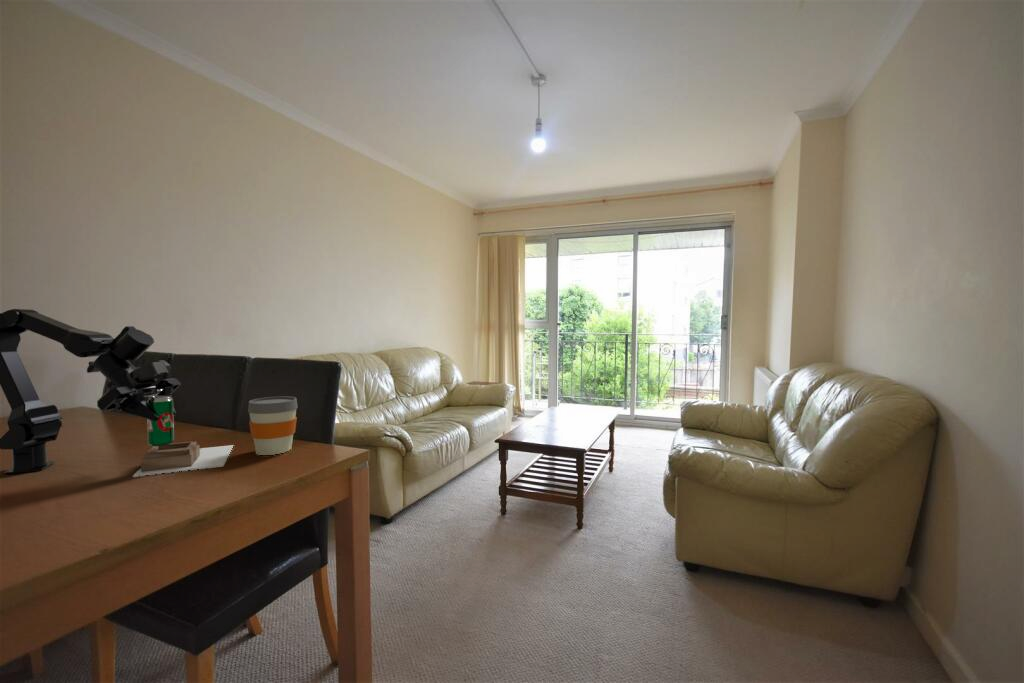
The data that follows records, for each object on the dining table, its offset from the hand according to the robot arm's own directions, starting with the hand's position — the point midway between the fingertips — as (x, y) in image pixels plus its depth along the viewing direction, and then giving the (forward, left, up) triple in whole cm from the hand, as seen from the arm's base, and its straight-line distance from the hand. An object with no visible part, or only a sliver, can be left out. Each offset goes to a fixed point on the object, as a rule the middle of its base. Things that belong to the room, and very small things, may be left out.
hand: (166, 417), depth 106 cm
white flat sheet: (-7, +3, -13) cm, 15 cm away
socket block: (-4, 0, -13) cm, 14 cm away
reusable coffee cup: (-6, +23, -13) cm, 27 cm away
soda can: (-1, -1, -7) cm, 7 cm away
